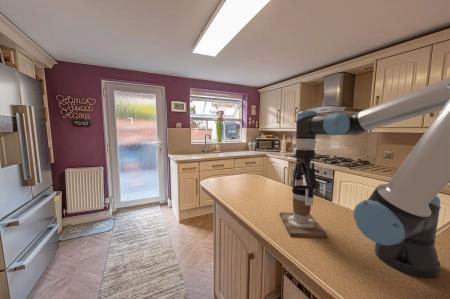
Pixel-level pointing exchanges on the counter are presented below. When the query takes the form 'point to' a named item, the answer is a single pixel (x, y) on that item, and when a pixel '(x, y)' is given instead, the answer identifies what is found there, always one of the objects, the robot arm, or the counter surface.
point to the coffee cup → (300, 205)
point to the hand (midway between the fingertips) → (303, 199)
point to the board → (302, 227)
